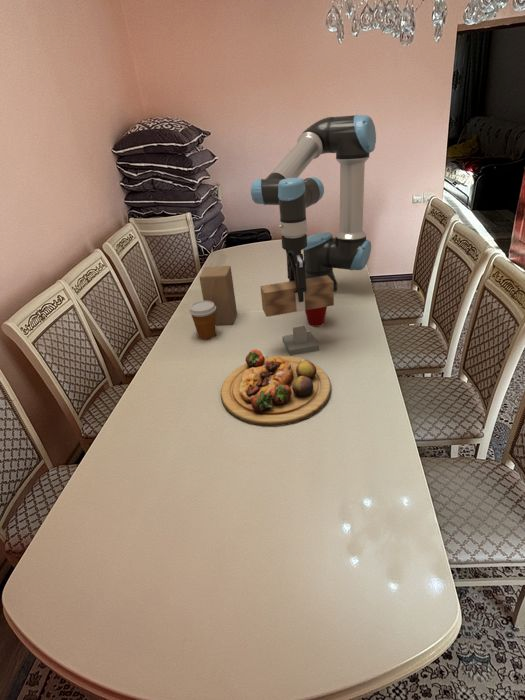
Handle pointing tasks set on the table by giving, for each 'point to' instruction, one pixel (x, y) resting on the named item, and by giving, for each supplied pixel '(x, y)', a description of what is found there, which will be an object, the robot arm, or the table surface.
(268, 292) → the walnut beam
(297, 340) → the pedestal
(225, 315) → the wooden block
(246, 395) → the wooden plate with food
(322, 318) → the plastic cup
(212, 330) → the disposable coffee cup
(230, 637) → the table surface
